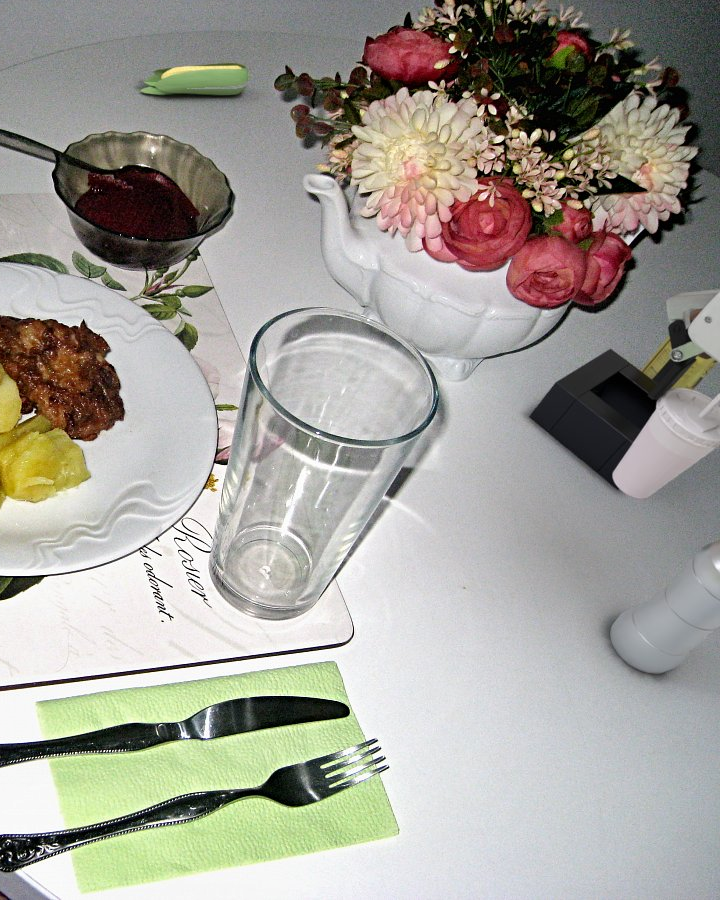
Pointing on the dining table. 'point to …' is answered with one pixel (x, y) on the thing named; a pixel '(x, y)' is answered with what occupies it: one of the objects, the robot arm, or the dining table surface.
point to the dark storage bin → (598, 411)
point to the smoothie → (670, 442)
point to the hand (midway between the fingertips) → (695, 418)
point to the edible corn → (198, 79)
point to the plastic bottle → (672, 617)
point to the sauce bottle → (692, 374)
